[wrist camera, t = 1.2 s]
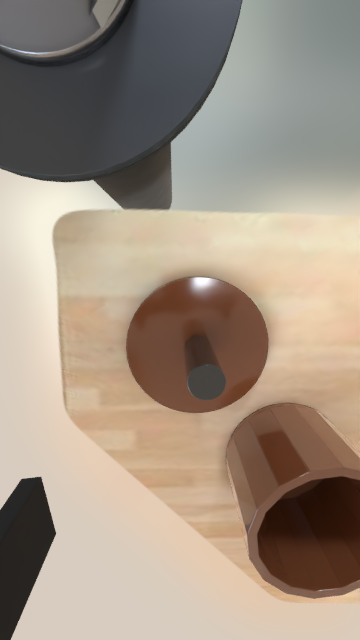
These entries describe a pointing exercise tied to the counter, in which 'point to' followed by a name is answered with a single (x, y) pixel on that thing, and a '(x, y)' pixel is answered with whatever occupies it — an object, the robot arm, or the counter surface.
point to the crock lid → (197, 344)
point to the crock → (298, 500)
